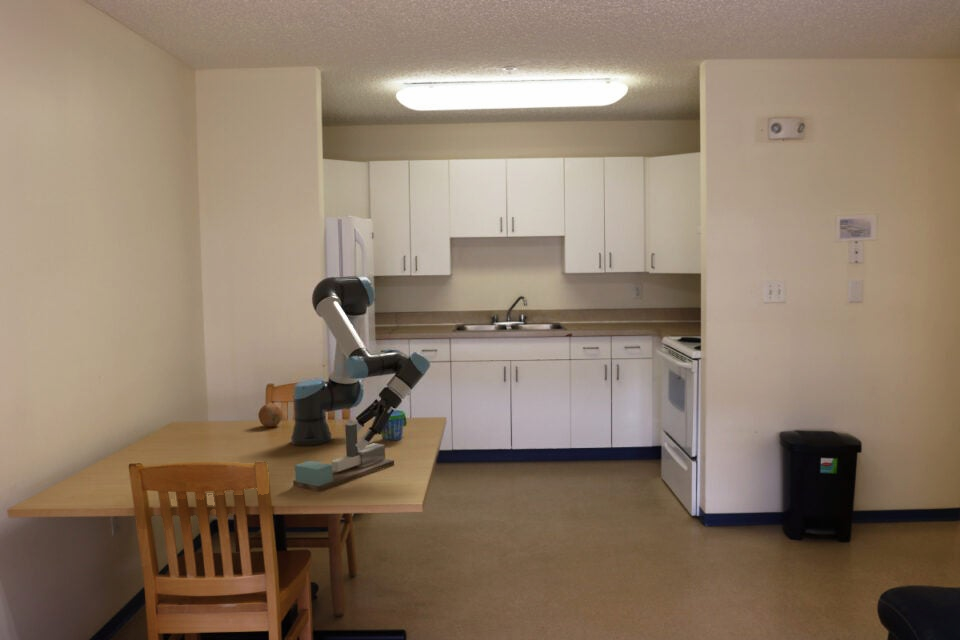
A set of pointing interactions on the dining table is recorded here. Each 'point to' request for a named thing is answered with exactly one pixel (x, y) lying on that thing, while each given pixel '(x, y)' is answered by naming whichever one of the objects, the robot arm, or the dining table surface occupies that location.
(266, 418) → the brown ball
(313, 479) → the socket
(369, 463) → the long brown base plank
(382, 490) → the dining table surface
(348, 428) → the tube
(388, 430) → the snack cup
